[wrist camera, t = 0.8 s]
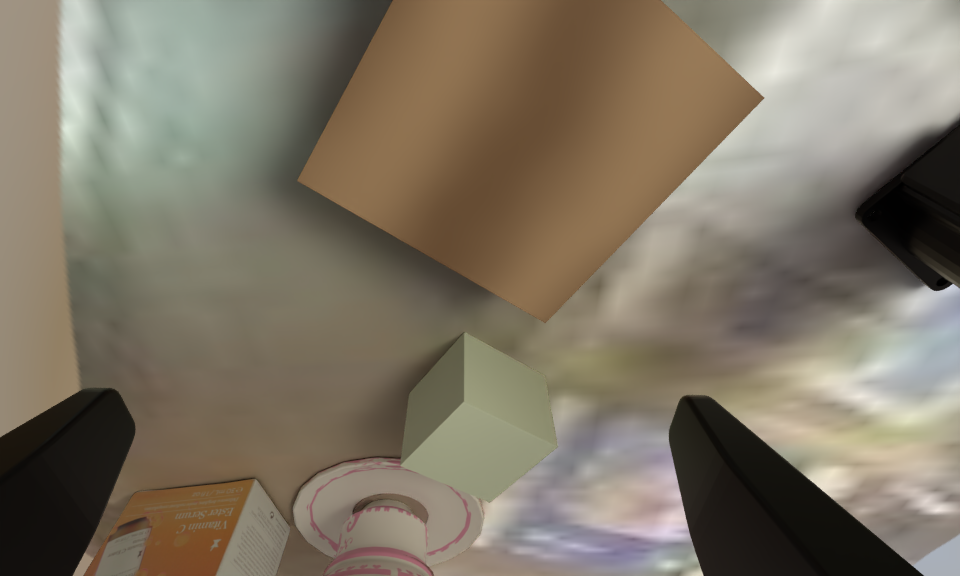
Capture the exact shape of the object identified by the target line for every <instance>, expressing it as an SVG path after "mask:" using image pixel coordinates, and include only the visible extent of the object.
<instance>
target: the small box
mask: <svg viewBox="0 0 960 576" xmlns="http://www.w3.org/2000/svg"><path fill="white" fill-rule="evenodd" d="M289 532H290V527H289V525H288V524H287V522H286V521H285V520H284V518H283V517H282V515H281V514H280V512H279V511H278V509H277V508H276V507H275V505H274V504H273V502H272V501H271V499H270V498H269V496H268V495H267V494H266V492H265V491H264V489H263V488H262V486H261V485H260V484H259V482H258V481H257V480H256V479H249V480H242V481H237V482H230V483H221V484H212V485H203V486H193V487H184V488H174V489H164V490H146V491H138V492H136V493H134V495H133V496H132V497H131V499H130V500H129V502H128V504H127V505H126V507H125V509H124V510H123V512H122V513H121V515H120V517H119V518H118V520H117V522H116V523H115V525H114V527H113V528H112V530H111V531H110V533H109V535H108V536H107V538H106V540H105V541H104V543H103V544H102V546H101V548H100V549H99V551H98V553H97V554H96V556H95V558H94V559H93V561H92V562H91V564H90V566H89V567H88V569H87V571H86V572H85V574H84V576H276V574H277V571H278V568H279V564H280V561H281V558H282V555H283V552H284V548H285V545H286V542H287V539H288V536H289Z"/></svg>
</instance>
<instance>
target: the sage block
mask: <svg viewBox="0 0 960 576" xmlns="http://www.w3.org/2000/svg"><path fill="white" fill-rule="evenodd" d="M557 447H558V445H557V439H556V434H555V428H554V423H553V417H552V412H551V406H550V401H549V395H548V389H547V384H546V378H545V375H543V374H541V373H539V372H537V371H535V370H534V369H532V368H530V367H528V366H526V365H524V364H522V363H521V362H519V361H517V360H515V359H513V358H511V357H510V356H508V355H506V354H504V353H502V352H500V351H499V350H497V349H495V348H493V347H491V346H489V345H487V344H486V343H484V342H482V341H480V340H478V339H476V338H475V337H473V336H471V335H469V334H467V333H465V332H464V333H463V334H462V335H461V336H460V337H459V339H458V340H457V341H456V342H455V343H454V344H453V345H452V346H451V347H450V349H449V350H448V351H447V352H446V353H445V354H444V355H443V356H442V357H441V359H440V360H439V361H438V362H437V363H436V364H435V365H434V366H433V367H432V369H431V370H430V371H429V372H428V373H427V374H426V375H425V376H424V377H423V379H422V380H421V381H420V382H419V383H418V384H417V385H416V386H415V387H414V389H413V390H412V391H411V392H410V393H409V398H408V406H407V414H406V422H405V430H404V438H403V446H402V453H401V461H400V466H401V467H404V468H406V469H409V470H411V471H414V472H416V473H419V474H421V475H423V476H426V477H428V478H431V479H433V480H436V481H438V482H441V483H443V484H445V485H448V486H450V487H453V488H455V489H458V490H460V491H463V492H465V493H468V494H470V495H472V496H475V497H477V498H480V499H482V500H485V501H487V502H491V501H492V500H493V499H495V498H496V497H497V496H498V495H500V494H501V493H502V492H503V491H505V490H506V489H507V488H508V487H509V486H511V485H512V484H513V483H514V482H516V481H517V480H518V479H519V478H520V477H522V476H523V475H524V474H525V473H527V472H528V471H529V470H530V469H531V468H533V467H534V466H535V465H536V464H538V463H539V462H540V461H541V460H543V459H544V458H545V457H546V456H547V455H549V454H550V453H551V452H552V451H554V450H555V449H556V448H557Z"/></svg>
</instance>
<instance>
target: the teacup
mask: <svg viewBox="0 0 960 576" xmlns="http://www.w3.org/2000/svg"><path fill="white" fill-rule="evenodd" d="M400 461H401V459H394V458H376V457H375V458H369V459H362V460H355V461H348V462H343V463H341V464H338V465H336V466H333V467H331V468H328V469H326V470H324V471H321V472H319V473H317V474H316V475H315V476H314V477H313V478H311V479H310V480H309V481H308V482H307V483H306V484H304V485H303V486H302V487H301V489H300V491H299V493H298V496H297V498H296V500H295V502H294V505H293V508H292V509H293V515H294V522H295V526H296V528H297V529H298V530H299V532H300V533H301V534H302V536H303V537H304V539H305V540H306V541H307V542H308V543H310V544H311V545H312V546H314V547H315V548H317V549H318V550H319V551H321V552H322V553H324V554H325V555H327V556H330V557H332V558H335V559H334V560H333V561H332V562H331V564H330V565H329V566H328V567H327V568H326V569H325V571H324V574H323V576H434V574H433V572H432V570H431V569H430V568H429V566H432V565H435V564H438V563H441V562H444V561H447V560H450V559H452V558H454V557H455V556H457V555H459V554H460V553H462V552H464V551H465V550H467V549H468V548H470V546H471V545H472V544H473V543H474V541H475V540H476V539H477V538H478V537H479V535H480V534H481V530H482V526H483V521H484V511H483V508H482V505H481V502H480V499H479V498H477V497H475V496H472V495H470V494H468V493H465V492H463V491H460V490H458V489H455V488H453V487H450V486H448V485H445V484H443V483H441V482H438V481H436V480H433V479H431V478H428V477H426V476H423V475H421V474H419V473H416V472H414V471H411V470H409V469H406V468H404V467H401V466H400ZM383 493H389V494H400V495H404V496H408V497H411V498H413V499H415V500H417V501H419V502H420V503H421V504H422V505H423V506H424V507H425V508H426V510H427V513H428V519H427V522H426V523H425V524H424V522H423V521H422V520H421V519H420V518H418V517H417V516H415V515H414V514H413V512H412V510H411V508H410V507H409V506H407V505H406V504H404V503H402V502H399V501H396V500H388V499H384V500H377V501H373V502H371V503H369V504H367V505H366V506H365V507H364V508H363V510H362V511H359V512H357V513H355V514H353V509H354V507H355V505H356V504H357V503H358V502H359V501H361V500H362V499H363V498H366V497H369V496H371V495H376V494H383Z"/></svg>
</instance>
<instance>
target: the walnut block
mask: <svg viewBox="0 0 960 576" xmlns="http://www.w3.org/2000/svg"><path fill="white" fill-rule="evenodd" d="M763 99H764V97H763V96H762V95H761V94H760V93H759V92H758V91H756V90H755V89H754V88H753V87H752V86H751V85H750V84H749V83H748V82H747V81H746V80H745V79H744V78H743V77H742V76H741V75H740V74H738V73H737V72H736V71H735V70H734V69H733V68H732V67H731V66H730V65H729V64H728V63H727V62H726V61H725V60H724V59H723V58H721V57H720V56H719V55H718V54H717V53H716V52H715V51H714V50H713V49H712V48H711V47H710V46H709V45H708V44H707V43H706V42H705V41H703V40H702V39H701V38H700V37H699V36H698V35H697V34H696V33H695V32H694V31H693V30H692V29H691V28H690V27H689V26H688V25H687V24H685V23H684V22H683V21H682V20H681V19H680V18H679V17H678V16H677V15H676V14H675V13H674V12H673V11H672V10H671V9H670V8H669V7H667V6H666V5H665V4H664V3H663V2H662V1H661V0H393V1H392V3H391V4H390V6H389V8H388V10H387V12H386V14H385V16H384V18H383V20H382V21H381V23H380V25H379V27H378V29H377V31H376V33H375V35H374V37H373V38H372V40H371V42H370V44H369V46H368V48H367V50H366V52H365V54H364V55H363V57H362V59H361V61H360V63H359V65H358V67H357V69H356V70H355V72H354V74H353V76H352V78H351V80H350V82H349V84H348V86H347V87H346V89H345V91H344V93H343V95H342V97H341V99H340V101H339V103H338V104H337V106H336V108H335V110H334V112H333V114H332V116H331V118H330V120H329V121H328V123H327V125H326V127H325V129H324V131H323V133H322V135H321V137H320V138H319V140H318V142H317V144H316V146H315V148H314V150H313V152H312V153H311V155H310V157H309V159H308V161H307V163H306V165H305V167H304V169H303V170H302V172H301V174H300V176H299V178H298V180H297V181H298V182H300V183H302V184H304V185H305V186H307V187H309V188H311V189H312V190H314V191H316V192H318V193H319V194H321V195H323V196H324V197H326V198H328V199H330V200H331V201H333V202H335V203H337V204H338V205H340V206H342V207H344V208H345V209H347V210H349V211H351V212H352V213H354V214H356V215H358V216H359V217H361V218H363V219H365V220H366V221H368V222H370V223H372V224H373V225H375V226H377V227H379V228H380V229H382V230H384V231H386V232H387V233H389V234H391V235H393V236H394V237H396V238H398V239H400V240H401V241H403V242H405V243H407V244H408V245H410V246H412V247H414V248H415V249H417V250H419V251H420V252H422V253H424V254H426V255H427V256H429V257H431V258H433V259H434V260H436V261H438V262H440V263H441V264H443V265H445V266H447V267H448V268H450V269H452V270H454V271H455V272H457V273H459V274H461V275H462V276H464V277H466V278H468V279H469V280H471V281H473V282H475V283H476V284H478V285H480V286H482V287H483V288H485V289H487V290H489V291H490V292H492V293H494V294H496V295H497V296H499V297H501V298H503V299H504V300H506V301H508V302H509V303H511V304H513V305H515V306H516V307H518V308H520V309H522V310H523V311H525V312H527V313H529V314H530V315H532V316H534V317H536V318H537V319H539V320H541V321H543V322H544V323H546V322H547V321H548V320H549V319H550V318H551V317H552V316H553V315H554V314H555V313H556V312H557V310H558V309H559V308H560V307H561V306H562V305H563V304H564V303H565V302H566V301H567V300H568V299H569V298H570V297H571V296H572V295H573V294H574V293H575V292H576V291H577V290H578V289H579V288H580V287H581V286H582V285H583V284H584V283H585V282H586V281H587V280H588V279H589V278H590V277H591V276H592V275H593V274H594V272H595V271H596V270H597V269H598V268H599V267H600V266H601V265H602V264H603V263H604V262H605V261H606V260H607V259H608V258H609V257H610V256H611V255H612V254H613V253H614V252H615V251H616V250H617V249H618V248H619V247H620V246H621V245H622V244H623V243H624V242H625V241H626V240H627V239H628V238H629V237H630V236H631V235H632V233H633V232H634V231H635V230H636V229H637V228H638V227H639V226H640V225H641V224H642V223H643V222H644V221H645V220H646V219H647V218H648V217H649V216H650V215H651V214H652V213H653V212H654V211H655V210H656V209H657V208H658V207H659V206H660V205H661V204H662V203H663V202H664V201H665V200H666V199H667V198H668V197H669V195H670V194H671V193H672V192H673V191H674V190H675V189H676V188H677V187H678V186H679V185H680V184H681V183H682V182H683V181H684V180H685V179H686V178H687V177H688V176H689V175H690V174H691V173H692V172H693V171H694V170H695V169H696V168H697V167H698V166H699V165H700V164H701V163H702V162H703V161H704V160H705V159H706V157H707V156H708V155H709V154H710V153H711V152H712V151H713V150H714V149H715V148H716V147H717V146H718V145H719V144H720V143H721V142H722V141H723V140H724V139H725V138H726V137H727V136H728V135H729V134H730V133H731V132H732V131H733V130H734V129H735V128H736V127H737V126H738V125H739V124H740V123H741V122H742V121H743V119H744V118H745V117H746V116H747V115H748V114H749V113H750V112H751V111H752V110H753V109H754V108H755V107H756V106H757V105H758V104H759V103H760V102H761V101H762V100H763Z"/></svg>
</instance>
